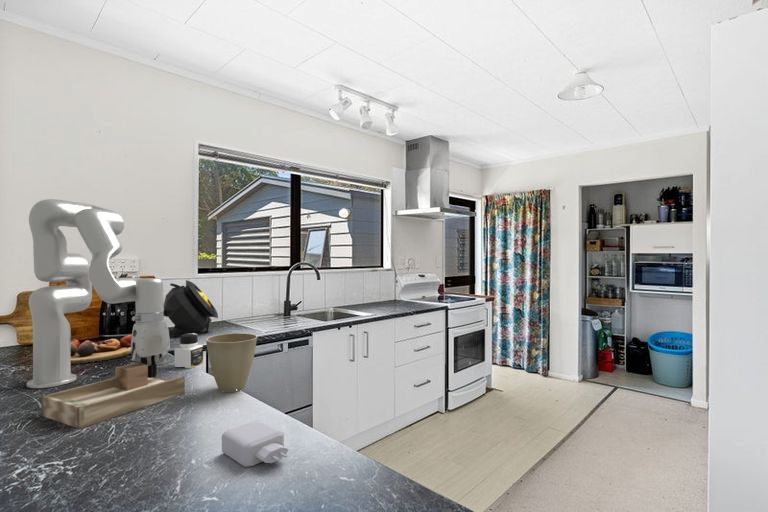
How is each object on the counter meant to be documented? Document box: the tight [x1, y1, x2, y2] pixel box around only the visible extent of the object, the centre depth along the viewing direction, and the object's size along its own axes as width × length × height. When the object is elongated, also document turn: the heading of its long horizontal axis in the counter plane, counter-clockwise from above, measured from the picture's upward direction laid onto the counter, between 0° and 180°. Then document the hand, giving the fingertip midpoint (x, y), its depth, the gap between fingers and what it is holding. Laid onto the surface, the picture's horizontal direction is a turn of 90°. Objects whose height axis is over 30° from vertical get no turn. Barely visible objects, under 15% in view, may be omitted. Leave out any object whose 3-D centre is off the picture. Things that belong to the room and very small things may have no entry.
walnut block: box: [114, 362, 148, 391], centre depth 119 cm, size 6×6×6 cm
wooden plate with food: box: [71, 334, 132, 365], centre depth 169 cm, size 32×32×8 cm
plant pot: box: [205, 332, 258, 393], centre depth 125 cm, size 15×15×16 cm
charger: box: [221, 420, 289, 468], centre depth 82 cm, size 5×9×15 cm
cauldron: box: [163, 279, 219, 338], centre depth 217 cm, size 28×28×24 cm
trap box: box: [41, 376, 186, 429], centre depth 112 cm, size 18×28×5 cm, turn 153°
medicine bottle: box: [174, 332, 204, 369], centre depth 152 cm, size 7×7×12 cm
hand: (150, 376), depth 125 cm, fingers closed
